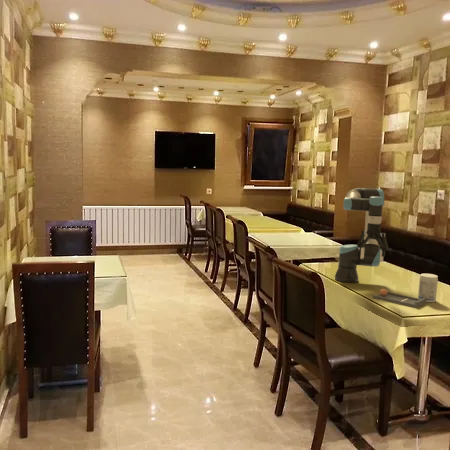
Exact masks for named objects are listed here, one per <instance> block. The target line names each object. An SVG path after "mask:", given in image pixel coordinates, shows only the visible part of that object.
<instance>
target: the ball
mask: <svg viewBox="0 0 450 450" xmlns="http://www.w3.org/2000/svg"><path fill="white" fill-rule="evenodd" d="M387 292H388V290H387V289H385V288H382V289H380V290H379V294H381V295H382V296H386V295H387Z"/></svg>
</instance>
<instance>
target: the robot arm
mask: <svg viewBox="0 0 450 450" xmlns="http://www.w3.org/2000/svg"><path fill="white" fill-rule="evenodd" d="M384 206H385V191H384V190H383V189H382V188H377V187H374V188H371V187H370V188H369V187H355V188H353V189H351V190H349V191H347V193H346V194H345V197H344V198H343V206H342V208H343V210H345V211H360V212H365V222H364V230H361V235H360V237H359V239H358V242H357V244H344V245H341V246H340V247H339V252H338V255H339V256H338V266H337V270H336V272H335V275H334V280H335V279H336V280H335V281H337V280H338V281H337V282H340V283H341V282H342V283H357V282H359V275H358V271H357V267H358V266H362V267H371V268H372V267H375V268H376V267H377V268H378V267H379V266H380V264H381V263H382V262H384V257H386V251H389V249H390V247H389V244H388V240H387V234H386V233H385V232H382V231H381V230H382V224H381V223H382V217H383V215H382V214H383V207H384Z"/></svg>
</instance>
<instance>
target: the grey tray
mask: <svg viewBox="0 0 450 450" xmlns="http://www.w3.org/2000/svg"><path fill="white" fill-rule="evenodd" d="M376 298H377V300H380V299H381V301H384V302H385V301H386V302H390V303H393V304H394V303H395V304H397V305H398V304H399V305H403V306H406V307H410V308H411V307H412V308H415V309H416V308H419V307H421V306H423V305H426V304H427V302H426V299H427V298H423V299H418V297H417V298H416V297H412V296H408V295H404V294H399V293H395V292H390V291H387V295H386V296H382V295H381V294H380V293H379V294H373V295H372V299H376Z"/></svg>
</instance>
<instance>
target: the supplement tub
mask: <svg viewBox="0 0 450 450" xmlns="http://www.w3.org/2000/svg"><path fill="white" fill-rule="evenodd" d="M438 277H439V276H438V275H436V274H433V273H421V274H420V275H419V281H418V282H419V284H418V294H417V298H418V299H423V298H427V299H426V303H435V302H437V292H438V282H439V279H438Z"/></svg>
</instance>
